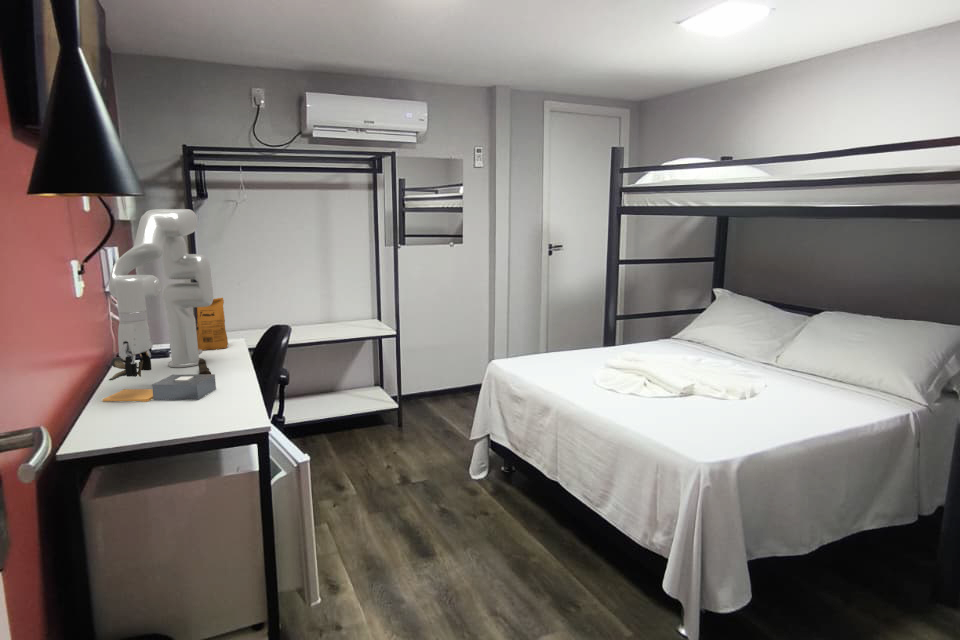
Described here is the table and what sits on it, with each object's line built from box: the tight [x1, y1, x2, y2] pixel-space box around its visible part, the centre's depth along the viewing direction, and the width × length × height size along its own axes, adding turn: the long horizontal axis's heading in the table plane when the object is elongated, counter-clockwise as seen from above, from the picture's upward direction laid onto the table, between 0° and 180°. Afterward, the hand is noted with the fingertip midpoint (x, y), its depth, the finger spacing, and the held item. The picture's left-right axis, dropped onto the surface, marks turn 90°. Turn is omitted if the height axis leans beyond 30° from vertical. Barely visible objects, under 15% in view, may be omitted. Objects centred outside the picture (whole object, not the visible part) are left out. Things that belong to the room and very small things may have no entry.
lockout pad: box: [102, 388, 153, 403], centre depth 186 cm, size 11×14×1 cm
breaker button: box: [175, 376, 194, 381], centre depth 187 cm, size 4×4×4 cm
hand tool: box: [197, 358, 212, 374], centre depth 212 cm, size 19×4×5 cm, turn 26°
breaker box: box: [151, 373, 217, 401], centre depth 187 cm, size 12×14×5 cm
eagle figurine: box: [108, 356, 143, 381], centre depth 183 cm, size 8×7×9 cm
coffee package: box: [196, 297, 229, 352], centre depth 255 cm, size 10×12×22 cm
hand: (139, 372), depth 185 cm, fingers closed on eagle figurine, 6 cm apart
